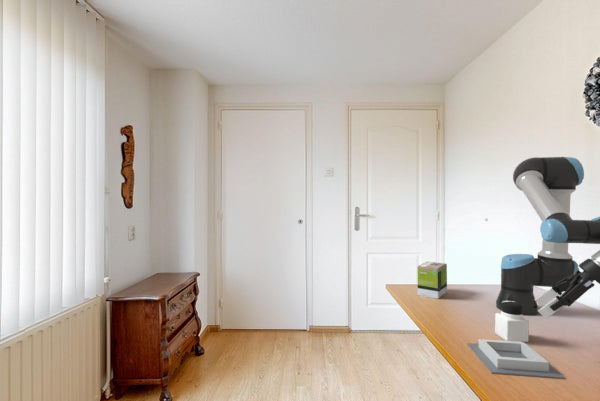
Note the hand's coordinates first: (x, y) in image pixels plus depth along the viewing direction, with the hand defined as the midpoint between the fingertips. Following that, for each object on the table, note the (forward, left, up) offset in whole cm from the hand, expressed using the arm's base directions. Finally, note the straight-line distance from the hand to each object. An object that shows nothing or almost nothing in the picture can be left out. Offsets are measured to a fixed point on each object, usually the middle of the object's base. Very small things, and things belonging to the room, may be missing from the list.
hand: (539, 308), depth 108 cm
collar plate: (+14, +13, -12) cm, 23 cm away
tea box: (+19, -54, -12) cm, 59 cm away
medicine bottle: (+6, -4, -12) cm, 14 cm away
